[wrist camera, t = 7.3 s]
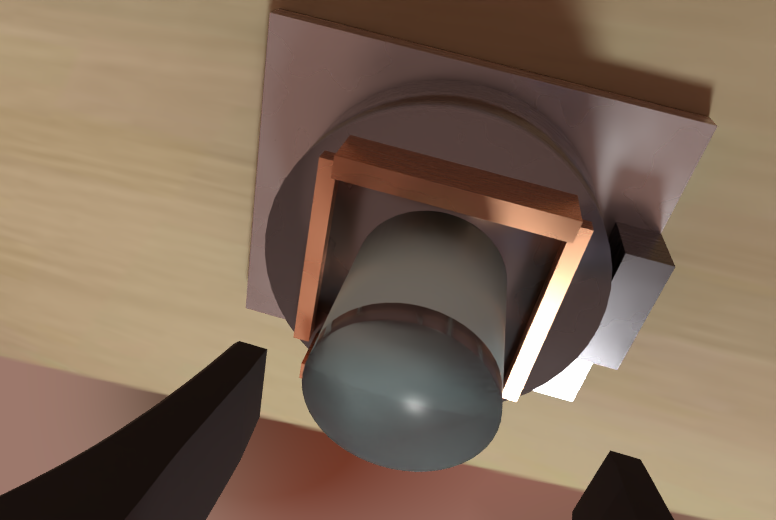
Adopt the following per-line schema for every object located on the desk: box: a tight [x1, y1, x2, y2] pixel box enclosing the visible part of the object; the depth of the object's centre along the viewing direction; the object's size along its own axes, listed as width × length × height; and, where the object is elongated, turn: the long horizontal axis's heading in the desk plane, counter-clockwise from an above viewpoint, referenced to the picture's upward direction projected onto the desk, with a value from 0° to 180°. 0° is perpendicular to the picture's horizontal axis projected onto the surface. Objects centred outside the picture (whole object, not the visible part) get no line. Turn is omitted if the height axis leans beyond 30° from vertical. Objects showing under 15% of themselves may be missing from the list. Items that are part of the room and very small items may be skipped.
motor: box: [246, 9, 717, 402], centre depth 18 cm, size 13×11×5 cm
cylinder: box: [302, 211, 507, 472], centre depth 15 cm, size 4×4×5 cm
